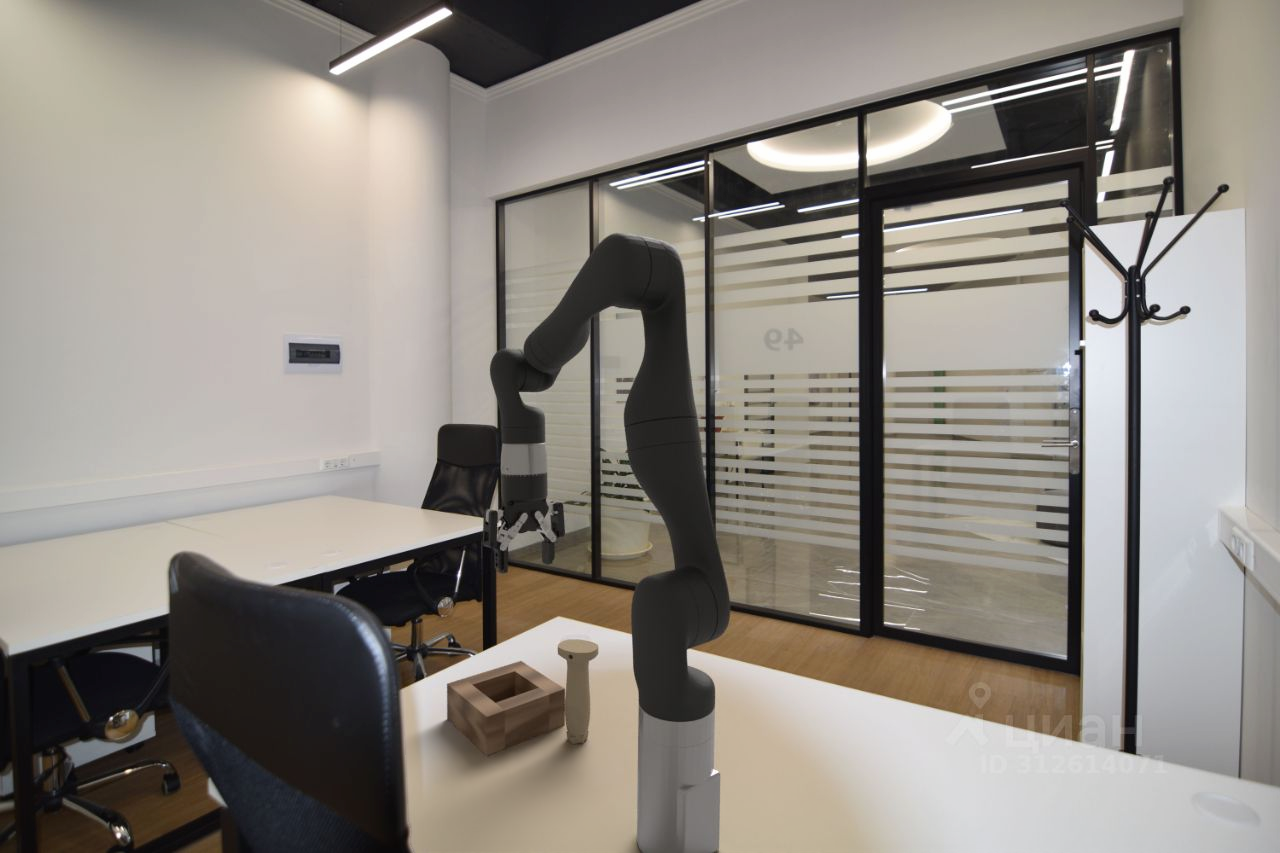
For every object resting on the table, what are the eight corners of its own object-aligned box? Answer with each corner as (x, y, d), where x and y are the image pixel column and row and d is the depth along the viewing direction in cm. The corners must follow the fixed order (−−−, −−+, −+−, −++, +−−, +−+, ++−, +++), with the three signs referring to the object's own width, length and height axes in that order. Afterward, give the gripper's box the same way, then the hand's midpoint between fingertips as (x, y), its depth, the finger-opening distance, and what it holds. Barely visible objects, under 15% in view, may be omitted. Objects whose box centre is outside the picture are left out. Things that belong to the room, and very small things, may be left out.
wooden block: (564, 724, 103) (564, 688, 103) (486, 755, 94) (486, 716, 93) (521, 693, 113) (521, 660, 113) (447, 718, 104) (447, 683, 104)
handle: (588, 751, 95) (589, 655, 94) (551, 742, 97) (552, 648, 97) (602, 736, 100) (603, 643, 99) (566, 727, 102) (567, 637, 101)
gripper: (496, 475, 96) (498, 580, 96) (572, 469, 105) (574, 564, 106) (473, 472, 101) (475, 571, 102) (548, 466, 111) (549, 557, 111)
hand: (525, 568), depth 104 cm, fingers open, 8 cm apart
